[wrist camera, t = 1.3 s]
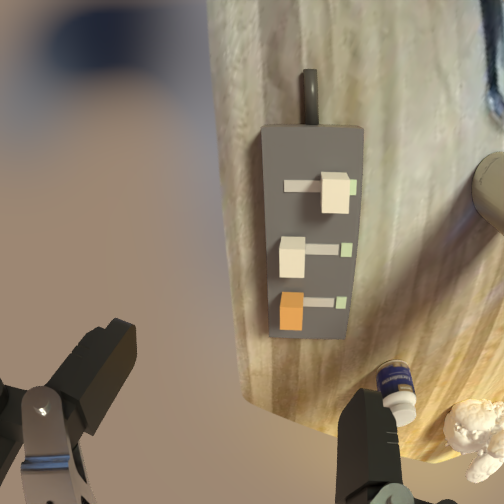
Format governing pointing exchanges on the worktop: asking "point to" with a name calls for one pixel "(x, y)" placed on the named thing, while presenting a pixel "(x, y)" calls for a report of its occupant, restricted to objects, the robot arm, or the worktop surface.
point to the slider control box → (311, 217)
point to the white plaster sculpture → (477, 435)
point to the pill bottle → (397, 390)
